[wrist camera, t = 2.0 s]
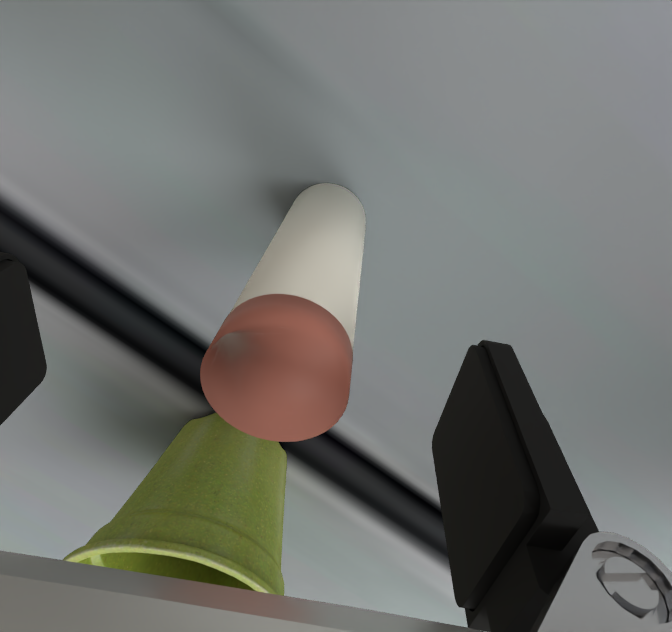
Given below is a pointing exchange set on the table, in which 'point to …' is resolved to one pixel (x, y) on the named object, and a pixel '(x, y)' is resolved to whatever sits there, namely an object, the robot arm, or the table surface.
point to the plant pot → (203, 512)
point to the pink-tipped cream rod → (293, 324)
